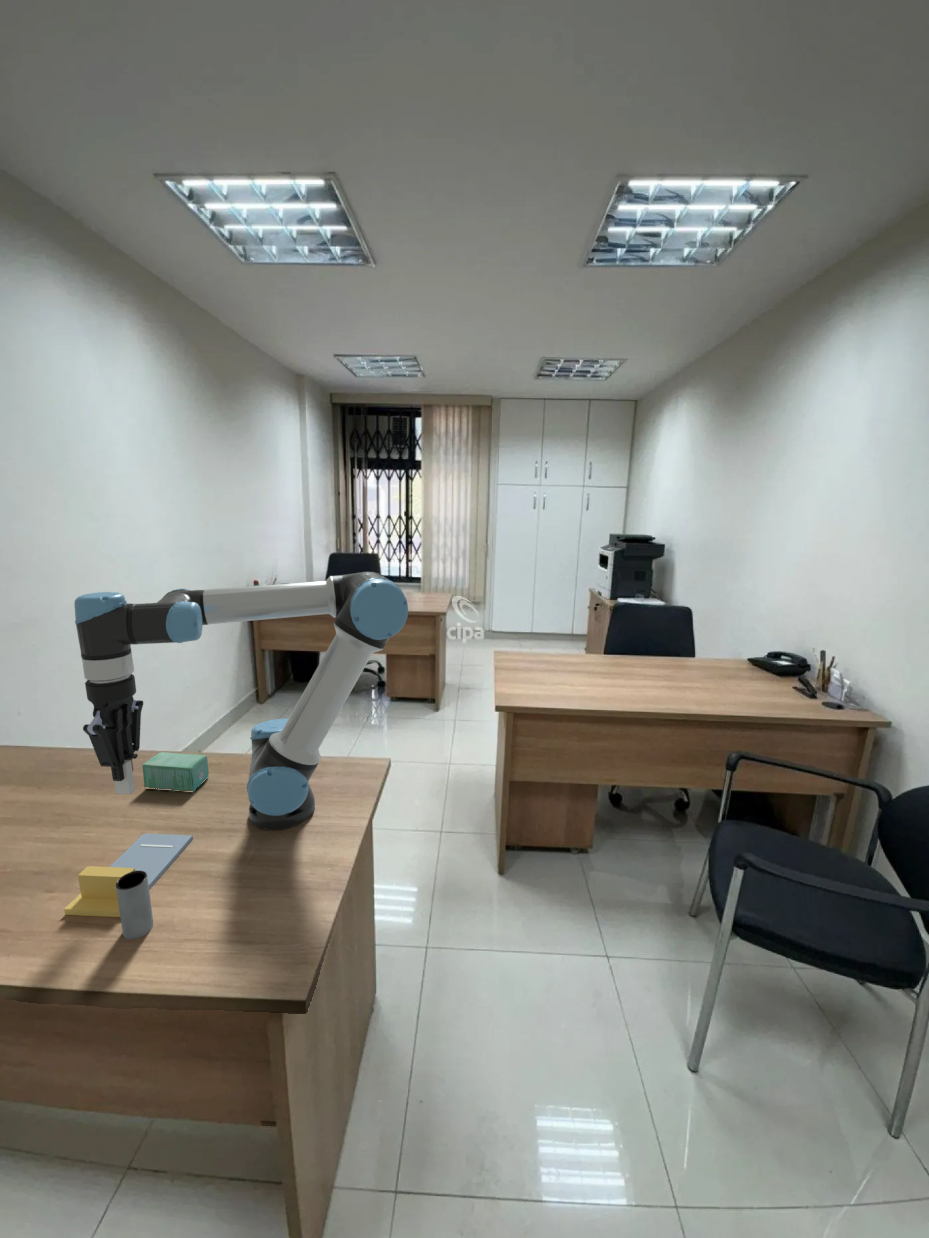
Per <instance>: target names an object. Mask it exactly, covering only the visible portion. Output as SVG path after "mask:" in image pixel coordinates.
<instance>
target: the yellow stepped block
mask: <svg viewBox="0 0 929 1238" xmlns="http://www.w3.org/2000/svg"><path fill="white" fill-rule="evenodd" d="M133 871H135V868H121V867H110V866H99V865H98V866H95V865H87V866H86V867H85V868H84V869H83V870H82V871H81V872H80V873H78V875H77V878H78V879H77V880H78V883H79V884H78V885H79V890H80V893H79V894H78V895H77V896H76V897H75V898H74V899H73V900H72V901H71V902H70V903H69V904H68V905H66V906H65V908H63V910H64V915H65V916H66V915H67V916H84V917H85V916H87V917H106V918H109V917H110V918H120V912H119V905H118V899H117V892H116V882H117V881H118V880H119V879H120V878H121V877H122V876H124V875H125V874H127V873H130V872H133Z"/></svg>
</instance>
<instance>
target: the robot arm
mask: <svg viewBox="0 0 929 1238" xmlns="http://www.w3.org/2000/svg"><path fill="white" fill-rule="evenodd" d="M74 615H75V620H74V624H75V626H76V627H75V628H76V632H77V638H78V644H79V649H80V657H81V660H82V667H83V676H84V679H85V680H86V681H85V682H84V685H85V693H86V698H87V700H88V702H90V703H91V704H92V705H93V711H92V716H93V719H92V720H91V722H90V723H89V724H84V725H83V727H82V731H83V732H84V733H86V735H87V736H88V737H89V740H90V743H91V744H92V747H93V750H94V753H95V755H96V758H97V760H98V763H99V765H100V767H107V768H110V769H111V778H112V781H113V783H114V789H115V794H116V795H126V796H127V795H131V794H133V793H134V792H135V791H136V788H135V787H136V786H135V779H134V773H133V772H134V765H133V764H134V762H133V760H135V759H137V758H138V756H139V755H138V754H139V753H135V752H138V751H139V750H140V747H141V746H140V744H141V722H142V721H141V720H142V710H143V707H144V700H136V699H135V698H134V695H136V693H137V686H136V678H135V675H134V674H133V673H134V672H135V668H134V667H135V666H134V660H133V652H132V645H147V644H148V645H151V644H152V645H153V644H170V643H171V644H172V643H177V644H183V643H186V642H193V641H195V642H196V641H198V640H199V639H200V638H201V636H202V635H203V626H207V625H216V624H228V623H229V624H230V623H241V622H249V621H250V622H252V621H261V620H262V621H263V620H273V619H274V620H275V619H284V618H295V617H297V618H298V617H306V616H317V615H318V616H319V615H330V616H331V617H332V618H336V619H335V620H334V623H333V626H334V629H335V636H334V638H332V641H331V642H330V644H329V646H328V648H327V649H326V652H325V653H324V655H323V657H322V659H321V660H320V662H319V664H318V665H317V667H316V669H315V671H314V673H313V674H312V677H311V679H310V680H309V682H308V683H307V685H306V687H305V689H304V691H303V693H302V694H301V696H300V698H299V700H298V702H296V704H295V707H294V708H293V710H292V712H291V714H290V715H289V717H288V718H275V719H270V720H266V721H263V722H259V723H258V724H256V725H254V726H253V727H252V729H251V730H250V740H251V761H250V768H249V775H248V781H247V784H246V791H247V797H248V801H249V806H248V817H249V821H250V823H251V824H252V825H253V826H255V827H257V828H259V829H262V830H268V831H269V830H270V831H271V830H272V831H275V830H276V831H277V830H282V829H288V828H291V827H293V826H296V825H298V824H299V825H300V824H302V822H304V821H306V820H307V819H308V818H310V817H311V815H313V813H314V811H315V809H316V808H315V807H316V800H315V795H314V792H313V790H312V788H311V786H310V782H309V781H310V780H311V778H312V776H313V775H314V773H315V770H316V769H317V767H318V765H319V763H320V761H321V760H322V756H321V753H320V751H319V750H320V749H319V748H320V747H321V746H322V744H323V742H324V740H325V738H326V736H327V735H328V733H329V732H330V729H331V728H332V726H333V724H334V722H335V720H336V719H337V717H338V715H339V714H340V712H341V709H342V708H343V707H344V705H345V703H346V701H347V700H348V698H349V696H350V694H351V693H352V690H353V689H354V687H355V686H356V683H357V682H358V680H359V679H360V677H361V676H362V675H361V674H362V673H363V671H364V669H365V667H366V666H367V665H368V663H369V660H370V658H371V657H372V656H373V654H374V653H377V652H382V651H384V649H385V646H386V645H387V643H388V641H389V639H390V638H391V637H394V636H395V635H396V634H398V633H400V631H401V630H402V629H403V627H404V626H405V624H406V622H407V619H408V615H409V605H408V601H407V598H406V596H405V593H404V592H403V590H402V589H401V588H400V586H399V585H398V584H396V583H395V582H393V580H390V579H389V578H388V577H386V576H385V575H383V574H381V573H379V572H375V571H362V572H356V573H349V574H340V575H339V574H338V575H329V577H328V578H327V579H326V580H321V581H320V580H319V581H318V580H317V581H307V582H292V583H278V584H277V583H276V584H262V585H261V584H260V585H251V586H237V587H236V586H235V587H221V588H208V589H195V590H194V589H193V590H191V589H188V588H176V589H173V590H170V591H168V592H166V594H164V595H163V596H162V598H160V599H159V600H158V601H157V602H150V603H149V602H147V603H127V600H126V597H125V595H124V594H123V593H122V592H116V591H115V592H111V591H101V592H100V591H99V592H91V593H86V594H82V595H79V596H77V597H76V599H75V600H74Z"/></svg>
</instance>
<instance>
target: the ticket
mask: <svg viewBox="0 0 929 1238" xmlns="http://www.w3.org/2000/svg"><path fill="white" fill-rule="evenodd" d="M193 837H194V836H193V835H191V834H169V833H168V834H167V833H143V834H142V835H141V836H139V838H138V839H137V840H136V841H135V842H133V843H132V844H131V845H130V846H129V847H128V848H127V849H126V850H125V851H124V852H123V853H122V854H121V855H120V856H119V857H118V858H117V859H116V860H115V861H114V862H113V863H112V864H111V865H109V867H121V868H135V871H144V872H146V873H147V878H148V885H149V890H151V888H152V887H154V885H155V884H156V883H157V882H158V880H159V879H160V878H161V877H162V875H164V873H165V872H167V870H168V869H169V867H170V866H172V864H173V863H174V862H175V860H176V859H177V858H178V857H179V856H180V855H181V854H182V853H183V852H184V850H185V849H187V847H188V845H189V844H190V843H191V842H192V841H193V840H194V838H193Z"/></svg>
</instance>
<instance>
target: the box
mask: <svg viewBox="0 0 929 1238" xmlns="http://www.w3.org/2000/svg"><path fill="white" fill-rule="evenodd" d="M208 761H209V760H208V756H207V755H205V754H194V753H193V754H191V753H176V752H164V751H163V752H162V751H160V752H159V753H157V754H156V755H154V756H152V757H151V758H150V759H148V760H147V761H145V762H143V764H141V765H142V774H143V775H142V776H143V786H144V788H145V787H149V788H155V789H156V788H157V789H158V788H159V789H171V790H179V791H194V792H195V789H196V788H197V787H199V785H201V783H202V782H203V781H204V780H205V779H206V778H207V777H208V778H209V762H208ZM201 786H202V785H201ZM199 788H200V787H199Z"/></svg>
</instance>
